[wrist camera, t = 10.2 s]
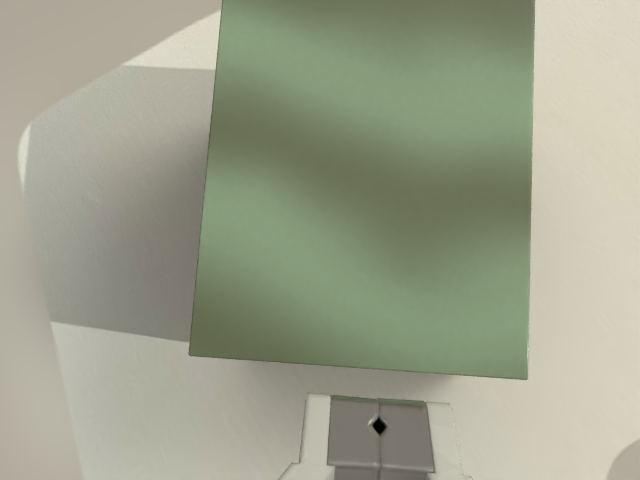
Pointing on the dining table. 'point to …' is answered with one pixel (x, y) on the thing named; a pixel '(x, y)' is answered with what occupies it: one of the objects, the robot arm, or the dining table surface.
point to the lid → (370, 186)
